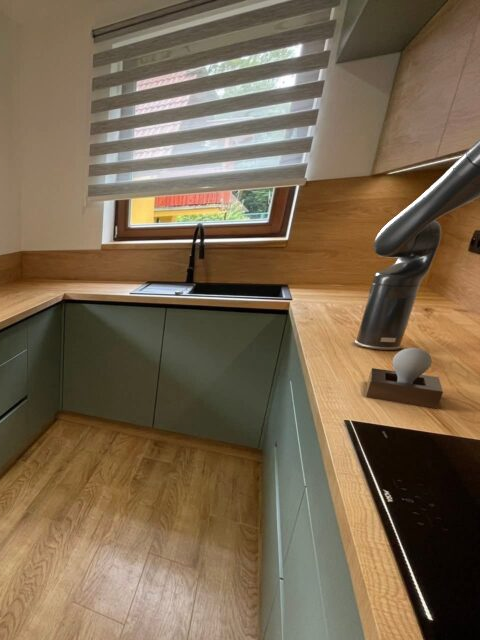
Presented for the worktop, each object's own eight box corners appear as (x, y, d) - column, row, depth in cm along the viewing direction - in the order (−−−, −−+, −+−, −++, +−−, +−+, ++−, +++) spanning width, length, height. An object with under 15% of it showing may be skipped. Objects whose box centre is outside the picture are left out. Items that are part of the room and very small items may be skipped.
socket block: (367, 382, 95) (371, 367, 94) (432, 392, 88) (438, 376, 87) (365, 396, 88) (370, 380, 87) (436, 408, 82) (443, 391, 80)
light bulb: (409, 391, 90) (425, 345, 86) (425, 401, 85) (443, 353, 81) (377, 389, 91) (391, 344, 88) (391, 398, 87) (406, 351, 83)
